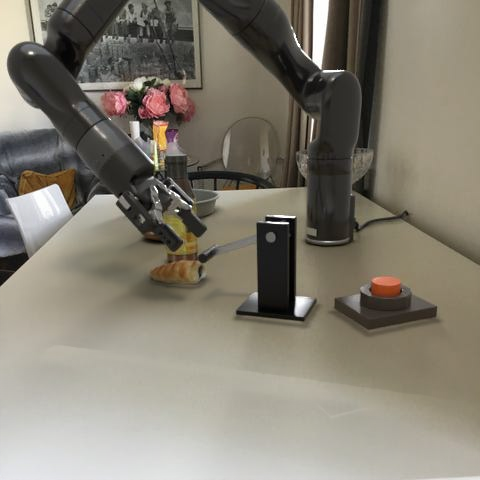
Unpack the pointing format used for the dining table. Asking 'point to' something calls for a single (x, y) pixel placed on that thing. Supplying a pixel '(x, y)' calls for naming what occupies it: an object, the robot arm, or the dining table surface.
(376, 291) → the ignition button
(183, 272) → the pastry
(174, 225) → the sauce bottle
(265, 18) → the robot arm
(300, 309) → the stand
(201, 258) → the lever
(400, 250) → the dining table surface
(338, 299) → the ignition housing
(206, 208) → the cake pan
